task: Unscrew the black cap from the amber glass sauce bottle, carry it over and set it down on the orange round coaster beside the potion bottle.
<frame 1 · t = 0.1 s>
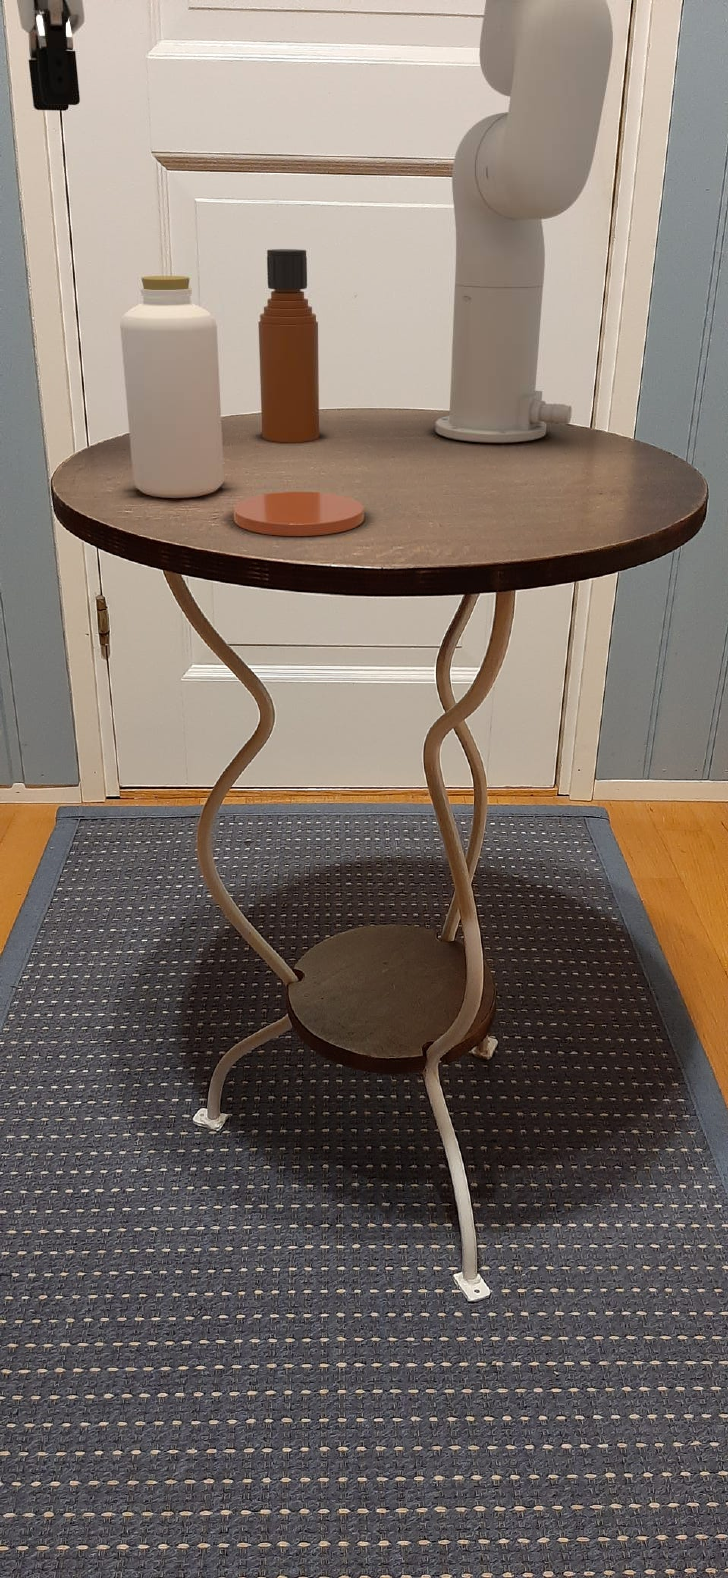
hand: (56, 107, 105), 31 cm above the table, tool pointing down, fingers open, 9 cm apart
sauce bottle: (290, 436, 129), on the table
orange round coaster: (298, 518, 97), on the table
cap: (286, 254, 120), point 19 cm above the table, screwed on, not yet turned
potion bottle: (179, 492, 106), on the table
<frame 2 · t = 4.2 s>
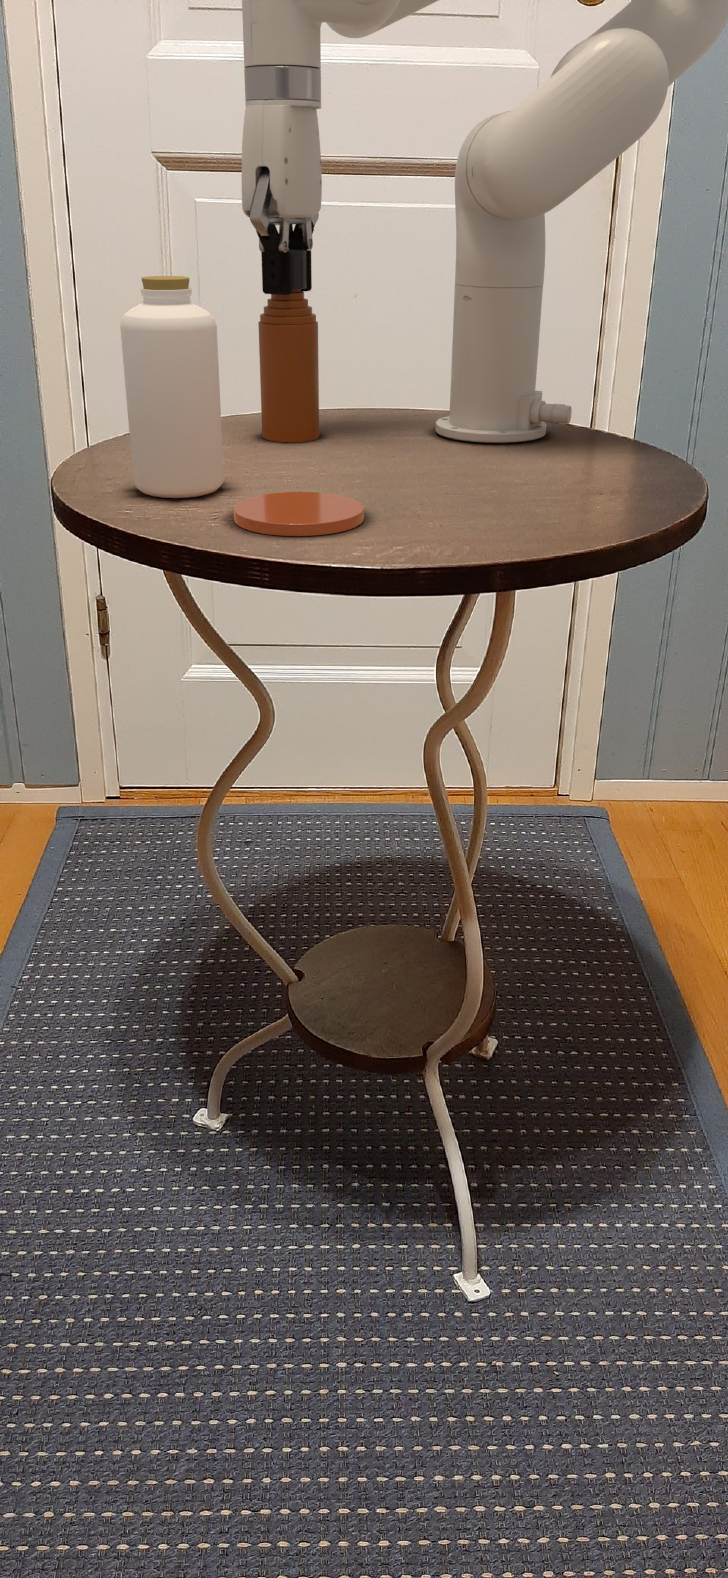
hand: (287, 290, 122), 15 cm above the table, tool pointing down, fingers closed on cap, 4 cm apart
cap: (286, 254, 120), point 19 cm above the table, screwed on, not yet turned, touching gripper
everything else where it was.
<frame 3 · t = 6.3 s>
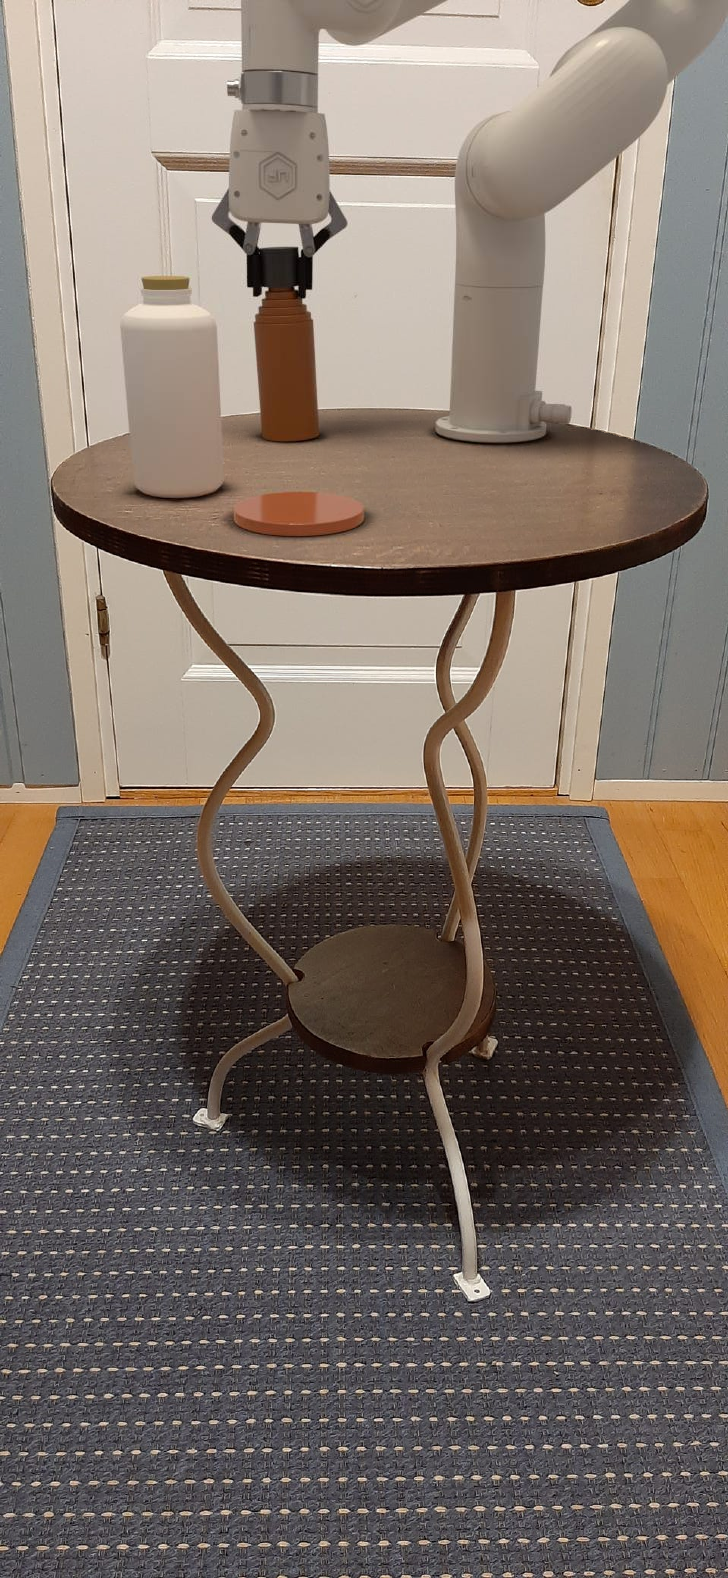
hand: (279, 294, 122), 15 cm above the table, tool pointing down, fingers closed on cap, 4 cm apart
sauce bottle: (290, 435, 129), on the table, touching gripper
cap: (279, 251, 120), point 19 cm above the table, turned 112° so far, risen 0.1 cm, still on its thread, touching gripper
everything else where it was.
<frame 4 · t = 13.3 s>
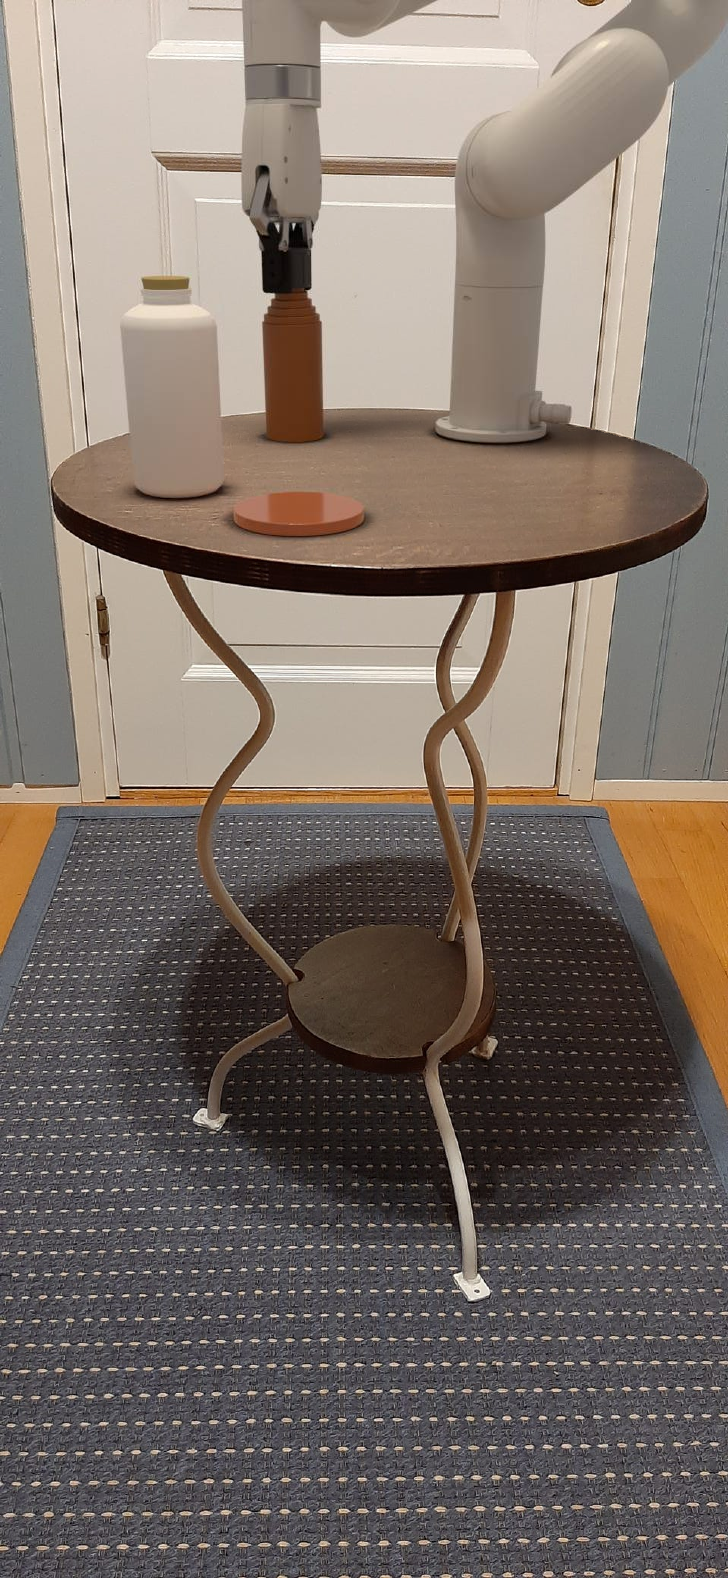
hand: (287, 289, 122), 15 cm above the table, tool pointing down, fingers closed on cap, 4 cm apart
sauce bottle: (295, 436, 129), on the table
cap: (290, 252, 120), point 19 cm above the table, turned 112° so far, risen 0.1 cm, still on its thread, touching gripper
everything else where it was.
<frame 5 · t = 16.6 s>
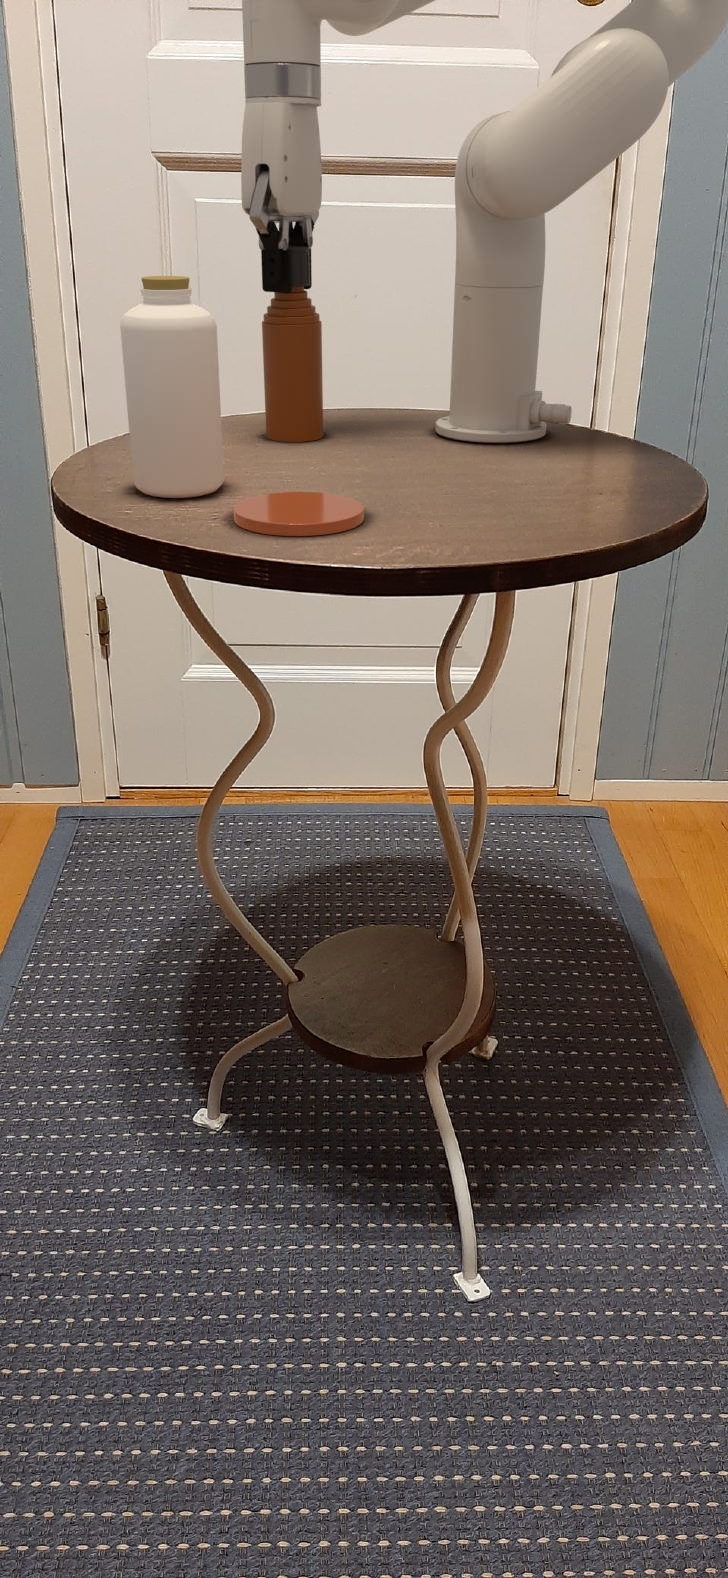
hand: (287, 288, 122), 15 cm above the table, tool pointing down, fingers closed on cap, 4 cm apart
cap: (289, 251, 120), point 19 cm above the table, turned 223° so far, risen 0.2 cm, still on its thread, touching gripper
everything else where it was.
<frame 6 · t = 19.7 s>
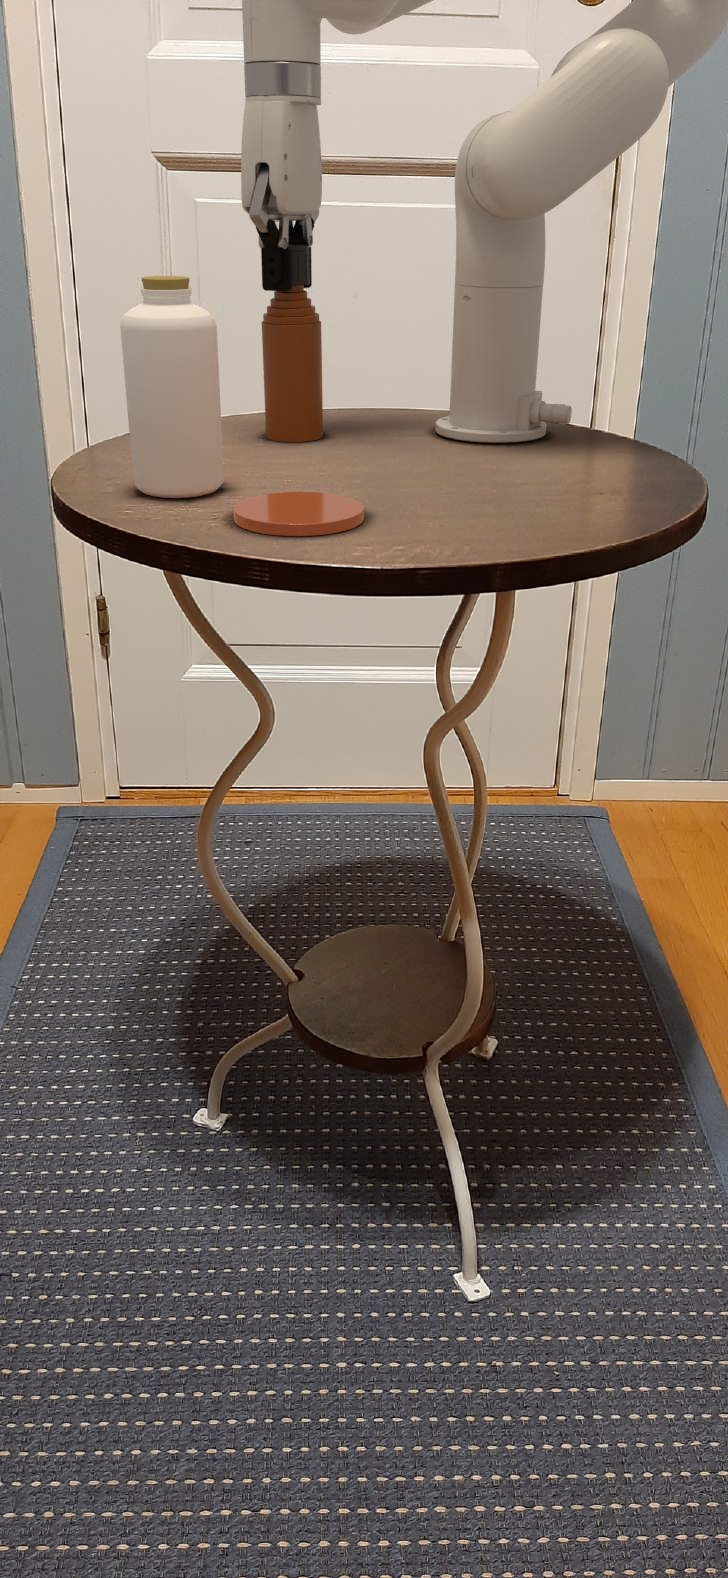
hand: (287, 287, 122), 15 cm above the table, tool pointing down, fingers closed on cap, 4 cm apart
cap: (289, 250, 120), point 19 cm above the table, turned 335° so far, risen 0.4 cm, still on its thread, touching gripper
everything else where it was.
when the fingers open (2 cm above the table, at t = 30.8 s): cap drops 2 cm, resting on orange round coaster.
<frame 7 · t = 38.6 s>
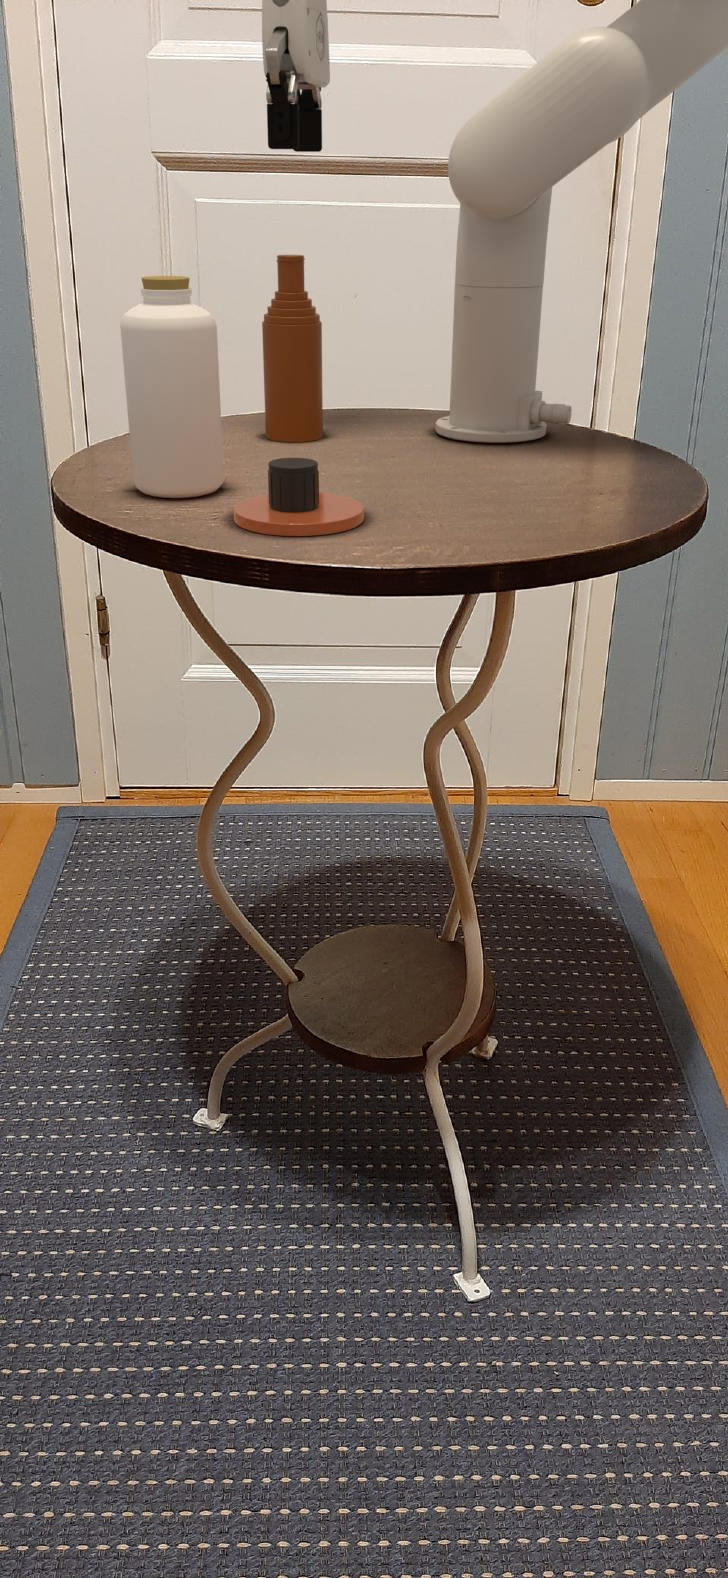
hand: (296, 150, 122), 28 cm above the table, tool pointing down, fingers open, 9 cm apart
cap: (293, 467, 96), point 4 cm above the table, off its thread, touching orange round coaster
everything else where it was.
at the end: cap came off its thread; cap inside the target area on the orange round coaster (0.4 cm from its centre), point 4.2 cm above the orange round coaster's base; the gripper is holding nothing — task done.
